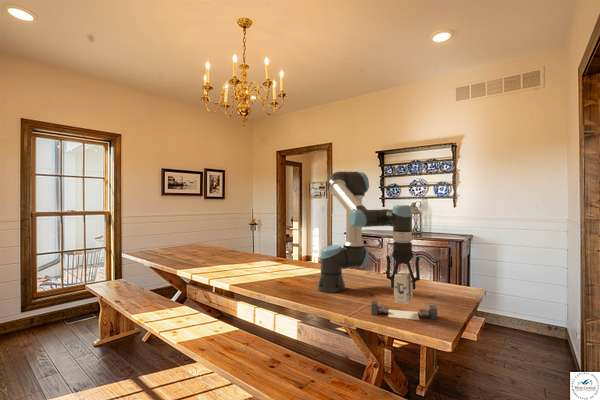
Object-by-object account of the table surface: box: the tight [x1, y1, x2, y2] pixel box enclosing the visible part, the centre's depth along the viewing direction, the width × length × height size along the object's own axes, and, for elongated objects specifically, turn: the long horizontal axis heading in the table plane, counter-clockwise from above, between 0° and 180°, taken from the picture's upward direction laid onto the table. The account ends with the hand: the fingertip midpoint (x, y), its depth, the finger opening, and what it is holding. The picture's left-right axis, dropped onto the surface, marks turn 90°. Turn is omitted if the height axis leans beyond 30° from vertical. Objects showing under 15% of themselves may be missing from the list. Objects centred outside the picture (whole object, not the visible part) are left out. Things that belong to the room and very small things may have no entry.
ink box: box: [394, 271, 412, 305], centre depth 134 cm, size 9×5×12 cm, turn 148°
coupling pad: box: [388, 309, 420, 321], centre depth 134 cm, size 12×9×1 cm
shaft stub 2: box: [418, 304, 438, 321], centre depth 131 cm, size 6×5×4 cm
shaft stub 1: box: [370, 299, 388, 316], centre depth 136 cm, size 6×5×4 cm
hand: (403, 296), depth 134 cm, fingers closed on ink box, 6 cm apart
